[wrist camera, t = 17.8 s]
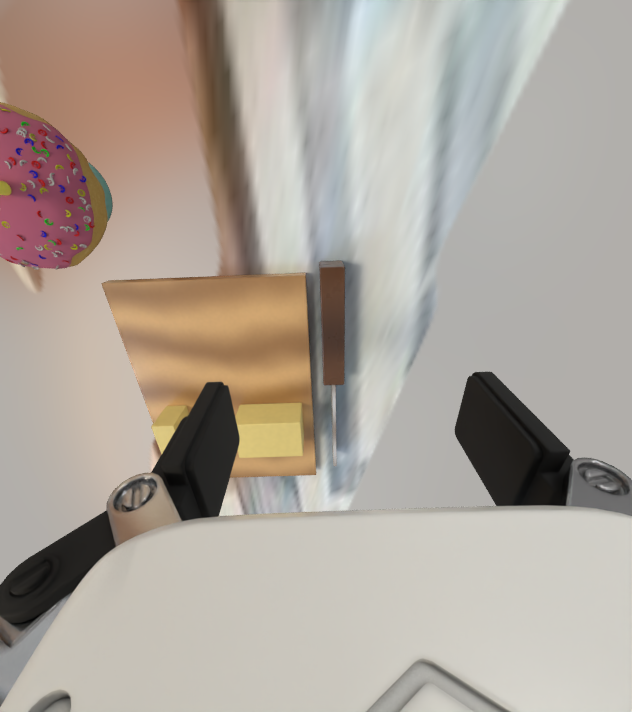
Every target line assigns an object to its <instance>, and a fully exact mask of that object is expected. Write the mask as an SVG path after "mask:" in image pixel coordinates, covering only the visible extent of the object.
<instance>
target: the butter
mask: <svg viewBox="0 0 632 712" xmlns="http://www.w3.org/2000/svg"><path fill="white" fill-rule="evenodd" d="M235 418H236V423H237V427H238V432H239V437H240V442H239V447H238V454H239V458H256V457H288V456H303V446H304V427H303V413H302V403H276V404H247V405H240V406H239V408H238V411H237V414H236V417H235Z"/></svg>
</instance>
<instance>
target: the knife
mask: <svg viewBox="0 0 632 712" xmlns="http://www.w3.org/2000/svg"><path fill="white" fill-rule="evenodd" d="M319 269H320V298H321V328H322V358H323V382H324V385H331V402H332V450H333V464H334V466H337V463H336V385H344V349H345V267H344V265H343V262H342V261H320V262H319Z"/></svg>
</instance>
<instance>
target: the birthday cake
mask: <svg viewBox="0 0 632 712" xmlns="http://www.w3.org/2000/svg"><path fill="white" fill-rule="evenodd" d="M111 213H112V197H111V193H110V190H109V187H108V185H107V183H106V181H105V180H104V178H103V177H102V175H101V174H100V173H99V172H98V171H97V170H96V169H95V168H94V167H93V166H92V165H91V164H90V163H88V161H87V159H86V158H85V156H84V155H83V154H82V152H81V151H79V149H77V148H76V147H75V146H74V145H73V144H72V143H70V142H69V141H68V140H67V139H66V138H65V137H64V136H63V135H62V134H61V133H60V132H59V131H58V130H56V129H55V128H54V127H53V126H52V125H50V124H49V123H48V122H47V121H45V120H44V119H42V118H41V117H39V116H37V115H35V114H33V113H30V112H27V111H25V110H22V109H20V108H17V107H15V106H12V105H9V104H6V103H1V102H0V257H2V258H4V259H5V260H7V261H9V262H11V263H15V264H19V265H21V266H23V267H25V266H29V267H33V268H34V269H39V268H55V269H59V268H67V267H71V266H75V265H78V264H79V263H80V262H81V261H82V260H84V259H85V258H86V257H87V256H88V255H89V254H90V253H91V252H92V251H93V250H94V249H95V247H96V246H97V245H98V244H99V242H100V240H101V239H102V237H103V235H104V232H105V230H106V226H107V222H108V220H109V218H110V216H111Z"/></svg>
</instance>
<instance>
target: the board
mask: <svg viewBox="0 0 632 712" xmlns="http://www.w3.org/2000/svg"><path fill="white" fill-rule="evenodd" d="M102 286H103V289H104V292H105V295H106V297H107V300H108V303H109V305H110V308H111V311H112V314H113V316H114V318H115V322H116V324H117V327H118V330H119V332H120V335H121V338H122V341H123V343H124V346H125V348H126V351H127V354H128V357H129V359H130V362H131V365H132V367H133V370H134V373H135V376H136V378H137V381H138V384H139V386H140V389H141V392H142V394H143V397H144V400H145V403H146V405H147V408H148V411H149V413H150V416H151V419H152V421H153V424H154V422H155V421H156V419H157V418H158V417H159V415H160V414H161V413H162V411H163V410H164V409H165V407H166V406H185V405H186V406H187V409H188V413H190V411H191V409H192V408H193V406H194V404H195V402H196V400H197V399H198V397H199V395H200V393H201V391H202V390H203V388H204V386H205V384H206V383H207V382H223V384H224V385H228V387H229V391H230V395H231V400H232V404H233V409H234V414H235V417H236V414H237V411H238V408H239V406H240V405H247V404H276V403H302V413H303V427H304V446H303V456H288V457H256V458H239V454H238V451H237V454H236V457H235V461H234V464H233V468H232V471H231V475H230V478H231V477H264V476H296V475H316V458H315V439H314V420H313V401H312V382H311V363H310V344H309V325H308V306H307V287H306V273H287V274H262V275H237V276H211V277H189V278H188V277H187V278H164V279H163V278H161V279H137V280H111V281H107V282H104V283H102Z"/></svg>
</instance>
